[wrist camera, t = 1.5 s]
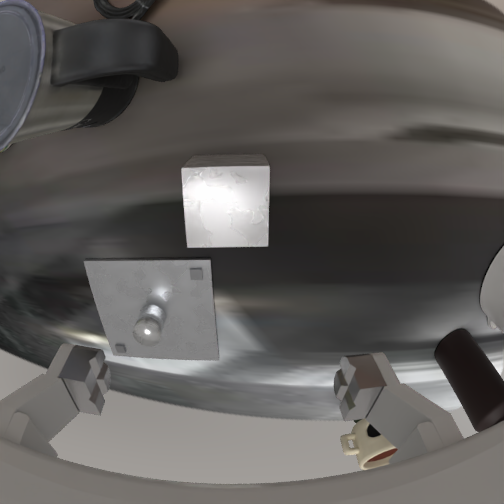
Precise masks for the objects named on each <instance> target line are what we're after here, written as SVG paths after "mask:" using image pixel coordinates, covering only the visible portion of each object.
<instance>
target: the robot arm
mask: <svg viewBox="0 0 504 504" xmlns="http://www.w3.org/2000/svg"><path fill="white" fill-rule="evenodd" d="M480 304H481V308H482V310H483V312H484V313H485V314H486V315H487V317H488V326H489V327H491V328H492V329H495V328H497V327H498V328H499V329H500V330H501V331H502V332H503V333H504V246H503V247H502V249H501V250H500V251H499V253H498V254H497V255H496V257H495V258H494V260H493V262H492V264H491V265H490V267H489V269H488V271H487V274H486V276H485V279H484V282H483V285H482V289H481V295H480ZM104 360H105V355H104V352H103V350H101V349H96V348H90V347H84V346H79V345H72V344H67V343H64V344H62V345H61V346H60V348H59V350H58V352H57V354H56V355H55V357H54V359H53V361H52V363H51V365H50V367H49V369H48V371H47V372H46V374H45V375H44V374H41V375H40V376H38V377H37V378H35V379H33V380H32V381H30V382H29V383H27V384H26V385H24V386H23V387H21V388H19V389H18V390H16V391H15V392H13V393H11V394H10V395H8V396H7V397H5V398H4V399H2V400H1V401H0V504H504V421H502V422H500V423H498V424H496V425H494V426H492V427H489V428H487V429H485V430H483V431H481V432H479V433H476V434H474V435H472V436H470V437H467V438H465V439H464V438H463V436H462V434H461V432H460V431H459V429H458V427H457V425H456V423H455V421H454V419H453V417H452V415H451V414H450V413H449V412H447V411H446V410H444V409H442V408H441V407H439V406H438V405H436V404H435V403H433V402H432V401H430V400H428V399H427V398H425V397H424V396H422V395H421V394H419V393H418V392H416V391H415V390H413V389H412V388H410V387H408V386H407V385H405V384H400V382H399V380H398V378H397V376H396V374H395V372H394V371H393V369H392V367H391V365H390V363H389V361H388V359H387V358H386V356H385V354H384V353H382V352H380V353H370V354H360V355H349V356H343V357H342V358H341V361H340V367H341V369H340V370H339V371H337V372H336V375H335V378H334V391H335V395H336V397H337V398H338V399H339V400H341V401H342V402H341V404H340V406H339V407H340V410H341V413H342V417H343V420H344V421H350V420H358V419H366V420H367V421H368V422H369V423H370V424H371V425H372V426H373V427H374V428H375V429H376V430H377V431H378V432H379V433H380V434H382V435H383V436H384V437H385V438H386V439H387V440H388V441H389V442H390V443H391V444H392V445H393V446H395V447H396V448H397V449H398V450H397V451H396V452H395V453H394V455H393V456H392V457H391V458H390V459H389V464H388V465H384V466H380V467H376V468H372V469H367V470H363V471H358V472H353V473H348V474H342V475H336V476H330V477H324V478H317V479H309V480H301V481H290V482H278V483H261V484H206V483H189V482H177V481H166V480H158V479H151V478H143V477H136V476H131V475H126V474H120V473H115V472H110V471H105V470H101V469H96V468H92V467H88V466H84V465H80V464H77V463H73V462H69V461H66V460H63V459H59V458H57V453H56V451H55V450H54V449H53V447H52V446H51V445H50V444H49V443H48V442H49V441H50V440H51V439H52V438H53V437H54V436H55V435H56V434H58V433H59V432H60V431H61V430H62V429H63V428H64V427H65V426H66V425H67V424H68V423H69V422H70V421H71V420H72V419H73V418H75V417H76V416H77V415H78V414H79V412H83V413H89V414H94V415H101V412H102V408H103V405H104V403H105V400H104V398H103V395H104V394H105V393H106V392H108V390H109V387H110V379H111V376H110V370H109V367H108V365H106V364H105V363H104Z"/></svg>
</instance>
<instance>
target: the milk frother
mask: <svg viewBox="0 0 504 504" xmlns="http://www.w3.org/2000/svg"><path fill="white" fill-rule="evenodd" d="M93 1H94V5H95V8H96V10H97V11H98V12H100V14H102V15H103V16H104V17H106V18H108V19H103V20H95V21H90V22H86V23H81V24H75V23H72V22H70V21H67V20H64V19H61V18H59V17H56V16H53V15H50V14H47V13H44V12H41V11H38V10H36V9H35V8H34V7H33V6H32V5H31V4H30V3H28V2H26V1H24V0H6V1H2V2H0V151H1V150H2V149H4V148H5V147H6V146H7V145H10V144H13V143H17V142H20V141H24V140H27V139H31V138H35V137H39V136H43V135H46V134H51V133H54V132H58V131H62V130H68V129H72V128H75V127H76V128H79V127H97V126H100V125H104V124H106V123H108V122H110V121H111V120H113V119H115V118H116V117H117V116H118V115H119V114H121V113H122V112H123V111H124V109H125V108H126V107H127V106H128V104H129V103H130V101H131V99H132V97H133V95H134V93H135V91H136V87H137V85H138V79H139V76H140V77H144V78H148V79H152V80H155V81H160V82H165V81H168V80H172V79H174V78H175V77H176V76H177V72H178V53H177V50H176V48H175V47H174V46H173V44H172V43H171V42H170V40H169V39H168V38H167V36H166V35H165V34H164V33H163V32H162V30H161V29H160V28H159V27H157V26H156V25H154V24H151V23H148V22H145V21H140V19H141V18H142V16H143V15H144V14H145V13H146V11H147V10H148V9H149V8H150V6H151V5H152V4H153V2H154V1H155V0H136V1H135V2H134V3H132V4H131V5H129V6H127V7H124V8H116V7H113V6H111V5H110V4H109V3H108V2H107V0H93ZM130 17H133V18H132V19H128V18H130Z"/></svg>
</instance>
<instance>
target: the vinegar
mask: <svg viewBox="0 0 504 504" xmlns="http://www.w3.org/2000/svg"><path fill="white" fill-rule="evenodd" d="M435 358H436V361H437V362H438V364H439V366H440V367H441V369H442V371H443V372H444V374H445V376H446V378H447V379H448V381H449V383H450V385H451V386H452V388H453V390H454V392H455V393H456V395H457V397H458V399H459V401H460V402H461V404H462V406H463V408H464V409H465V412H466V414H467V415H468V417H469V419H470V421H471V423H472V425H473V427H474V429H475V430H476V431H477V432H481V431H483V430H485V429H487V428H489V427H492V426H494V425H496V424H498V423H500V422H502V421H504V381H503V379H502V378H501V376H500V375H499V373H498V372H497V370H496V369H495V367H494V366H493V365H492V363H491V362H490V360H489V359H488V358H487V356H486V355H485V353H484V352H483V351H482V349H481V348H480V347H479V345H478V344H477V343H476V341H475V340H474V339H473V337H472V336H471V335H470V333H469V332H468V331H467V330H464V329H461V330H456V331H454V332H452V333H450V334H449V335H448V336H446V337H445V338H444V339H443V340H442V341H441V343H440V344H439V345H438V347H437V349H436V352H435Z"/></svg>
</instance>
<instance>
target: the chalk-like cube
mask: <svg viewBox="0 0 504 504" xmlns="http://www.w3.org/2000/svg"><path fill="white" fill-rule="evenodd" d="M181 171H182V187H183V201H184V214H185V226H186V237H187V248H196V247H267V246H268V229H269V182H270V166H269V164H268V162H267V159H266V157H265V155H264V154H221V155H194V156H192V157H191V158H190V160H189V161H188V162H187V163H186V164H185V165H184V166H183V167H182V168H181Z"/></svg>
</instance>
